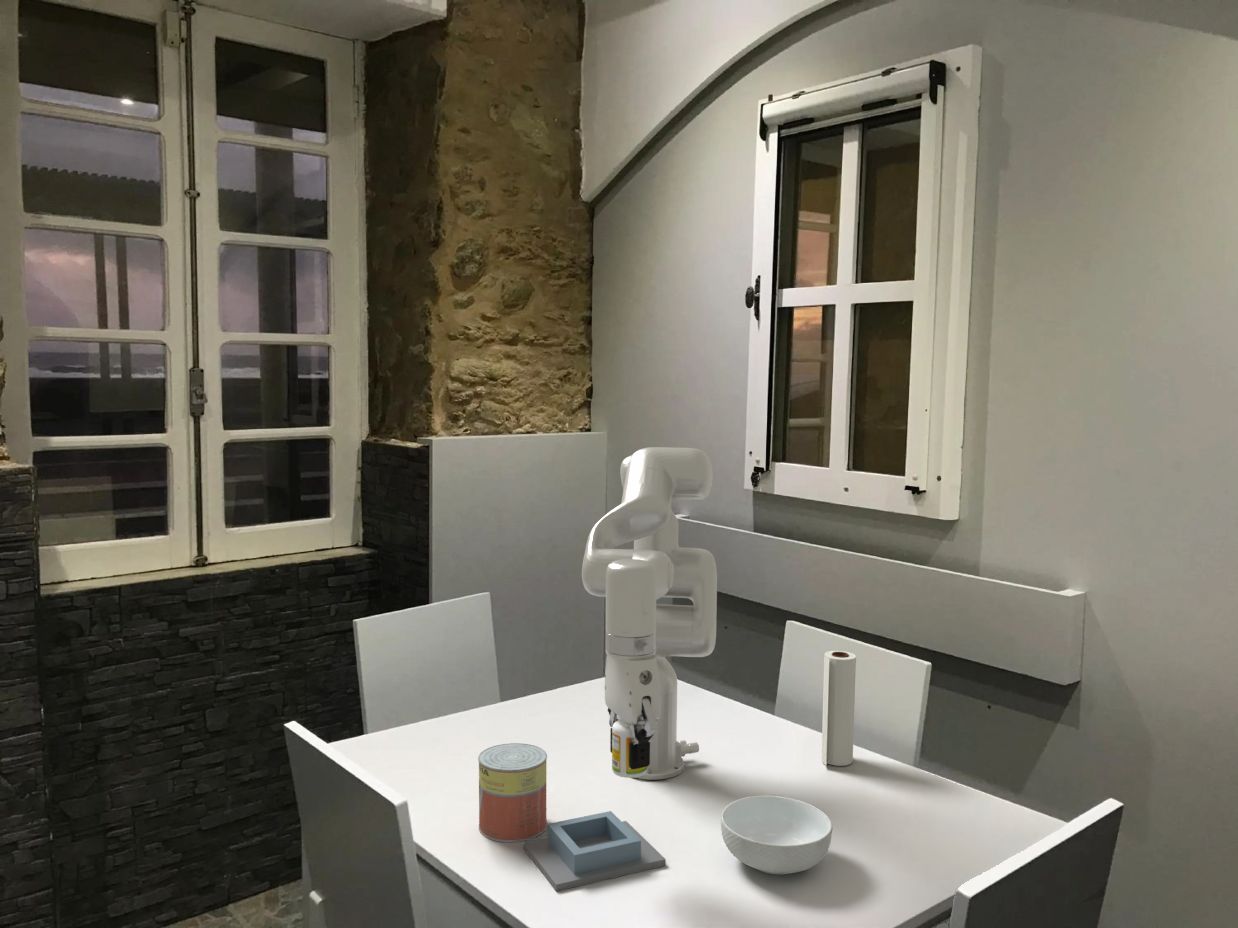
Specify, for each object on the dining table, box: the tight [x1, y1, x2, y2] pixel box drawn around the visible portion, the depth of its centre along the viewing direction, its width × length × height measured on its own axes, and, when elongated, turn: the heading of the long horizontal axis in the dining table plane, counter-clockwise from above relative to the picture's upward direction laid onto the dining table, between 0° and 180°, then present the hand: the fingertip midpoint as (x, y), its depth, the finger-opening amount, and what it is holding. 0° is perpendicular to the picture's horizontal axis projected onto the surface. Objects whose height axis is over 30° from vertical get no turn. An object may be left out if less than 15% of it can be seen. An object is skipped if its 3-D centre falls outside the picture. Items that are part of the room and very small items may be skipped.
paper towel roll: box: [821, 650, 857, 769], centre depth 188 cm, size 7×6×21 cm
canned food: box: [477, 742, 548, 843], centre depth 160 cm, size 11×11×12 cm
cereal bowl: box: [720, 795, 833, 875], centre depth 149 cm, size 17×17×7 cm
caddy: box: [522, 810, 667, 892], centre depth 150 cm, size 18×14×4 cm
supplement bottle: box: [611, 715, 648, 779], centre depth 146 cm, size 5×5×10 cm
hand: (629, 758), depth 146 cm, fingers closed on supplement bottle, 5 cm apart
